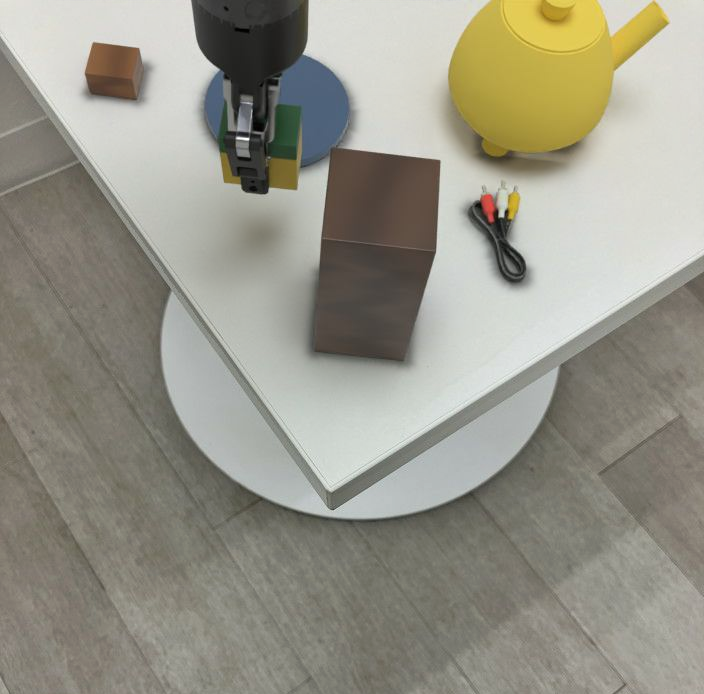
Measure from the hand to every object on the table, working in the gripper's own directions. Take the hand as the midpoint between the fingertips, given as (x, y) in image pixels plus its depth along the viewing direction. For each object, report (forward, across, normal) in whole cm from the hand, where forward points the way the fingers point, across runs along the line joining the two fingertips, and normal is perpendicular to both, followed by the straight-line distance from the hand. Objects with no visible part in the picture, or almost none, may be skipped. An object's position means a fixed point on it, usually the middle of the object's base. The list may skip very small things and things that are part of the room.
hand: (259, 167), depth 66 cm
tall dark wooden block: (+8, +8, +10) cm, 15 cm away
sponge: (0, 0, 0) cm, 0 cm away
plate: (+8, -14, 0) cm, 16 cm away
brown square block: (+8, -15, -16) cm, 24 cm away
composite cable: (+9, -2, +22) cm, 24 cm away
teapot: (+9, -18, +26) cm, 33 cm away
